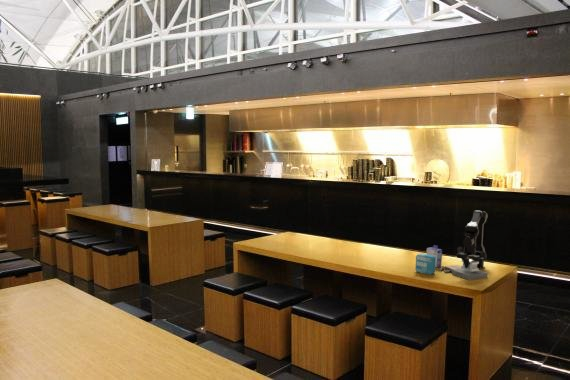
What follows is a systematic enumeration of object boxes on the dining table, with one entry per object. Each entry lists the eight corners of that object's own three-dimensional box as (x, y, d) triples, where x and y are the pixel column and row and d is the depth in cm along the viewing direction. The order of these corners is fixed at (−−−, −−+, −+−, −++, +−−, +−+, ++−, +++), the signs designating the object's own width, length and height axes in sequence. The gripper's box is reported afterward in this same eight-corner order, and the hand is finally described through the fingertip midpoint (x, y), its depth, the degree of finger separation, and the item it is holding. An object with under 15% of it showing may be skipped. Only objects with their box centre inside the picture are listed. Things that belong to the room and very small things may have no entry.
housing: (468, 267, 321) (468, 258, 321) (478, 270, 313) (478, 261, 312) (461, 268, 319) (461, 259, 318) (471, 271, 311) (472, 262, 310)
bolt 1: (441, 269, 332) (441, 265, 332) (444, 269, 331) (445, 266, 330) (438, 270, 328) (438, 267, 328) (441, 271, 326) (441, 268, 326)
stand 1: (456, 267, 337) (457, 264, 336) (468, 271, 327) (469, 268, 326) (444, 269, 332) (444, 266, 332) (456, 273, 322) (456, 270, 322)
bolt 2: (450, 271, 326) (450, 268, 326) (453, 272, 324) (453, 269, 324) (444, 272, 324) (444, 268, 323) (446, 273, 322) (446, 269, 321)
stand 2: (469, 271, 326) (470, 267, 326) (487, 277, 313) (487, 272, 312) (451, 274, 320) (452, 269, 320) (468, 280, 306) (469, 275, 306)
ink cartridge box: (442, 266, 339) (442, 246, 337) (436, 267, 336) (437, 247, 334) (430, 263, 347) (431, 243, 346) (425, 264, 344) (426, 244, 343)
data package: (415, 271, 325) (415, 254, 324) (417, 270, 329) (418, 253, 327) (432, 274, 318) (433, 257, 317) (435, 273, 321) (435, 255, 320)
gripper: (472, 240, 325) (471, 263, 327) (451, 243, 318) (450, 266, 319) (485, 244, 315) (484, 267, 317) (463, 246, 308) (462, 270, 309)
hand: (469, 267), depth 316 cm, fingers closed on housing, 6 cm apart
